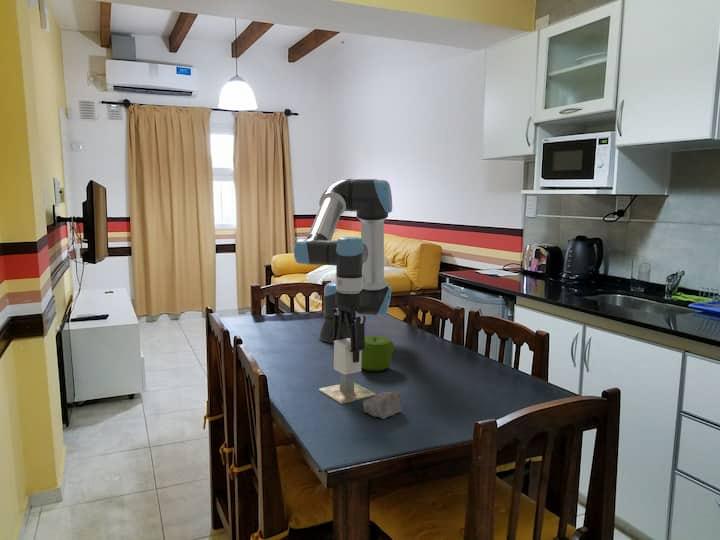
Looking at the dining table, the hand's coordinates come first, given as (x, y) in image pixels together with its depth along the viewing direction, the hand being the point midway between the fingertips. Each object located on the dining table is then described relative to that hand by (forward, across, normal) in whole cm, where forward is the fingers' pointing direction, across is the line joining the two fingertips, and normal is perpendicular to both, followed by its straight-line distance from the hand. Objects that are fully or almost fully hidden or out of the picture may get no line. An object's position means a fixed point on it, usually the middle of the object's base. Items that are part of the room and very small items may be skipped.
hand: (347, 369), depth 155 cm
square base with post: (+7, 0, 0) cm, 7 cm away
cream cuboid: (0, 0, 0) cm, 0 cm away
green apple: (+7, -13, +20) cm, 25 cm away
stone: (+8, +17, 0) cm, 19 cm away
